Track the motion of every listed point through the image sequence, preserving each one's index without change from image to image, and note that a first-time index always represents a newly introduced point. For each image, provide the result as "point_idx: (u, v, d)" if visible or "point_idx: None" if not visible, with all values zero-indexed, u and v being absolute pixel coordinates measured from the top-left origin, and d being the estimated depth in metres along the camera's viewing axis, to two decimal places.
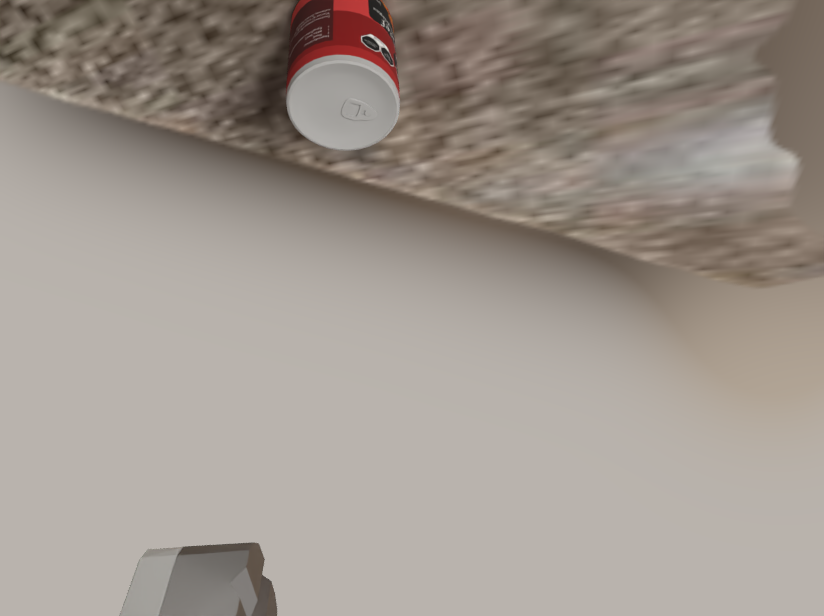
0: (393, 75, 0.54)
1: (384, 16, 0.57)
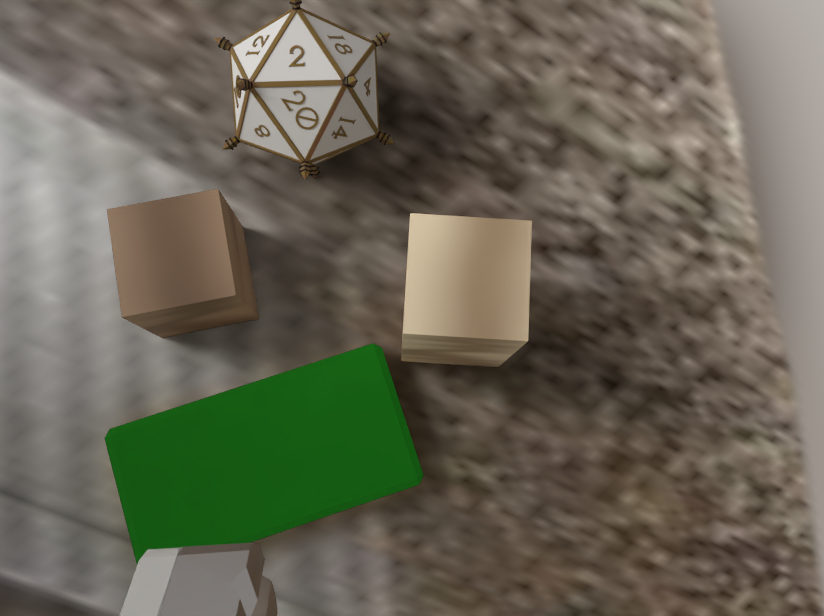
0: None
1: None
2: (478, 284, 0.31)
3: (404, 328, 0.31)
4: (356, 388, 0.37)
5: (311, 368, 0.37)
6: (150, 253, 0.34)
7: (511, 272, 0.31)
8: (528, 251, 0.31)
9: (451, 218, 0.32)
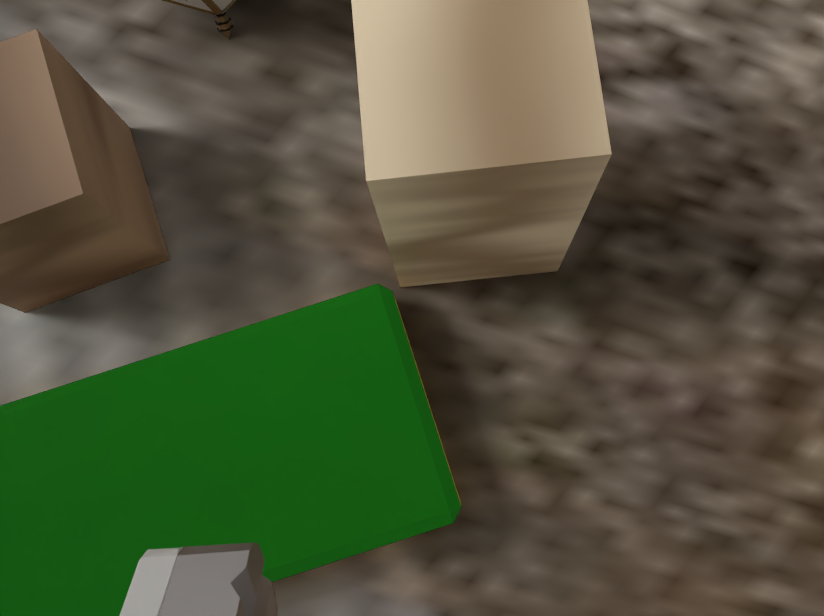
0: None
1: None
2: (497, 69, 0.16)
3: (367, 171, 0.16)
4: (349, 358, 0.22)
5: (275, 324, 0.23)
6: None
7: (556, 35, 0.16)
8: None
9: None
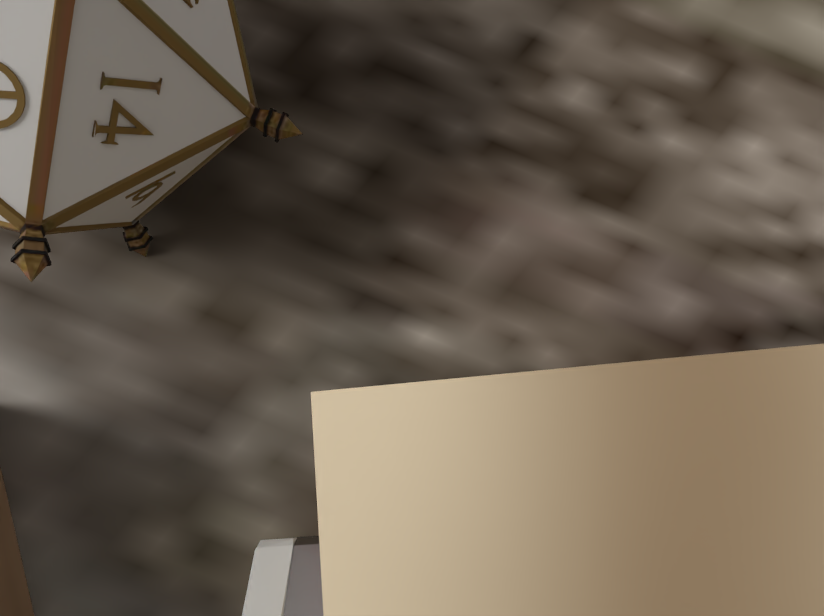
0: None
1: None
2: None
3: None
4: None
5: None
6: None
7: None
8: None
9: (498, 387, 0.07)
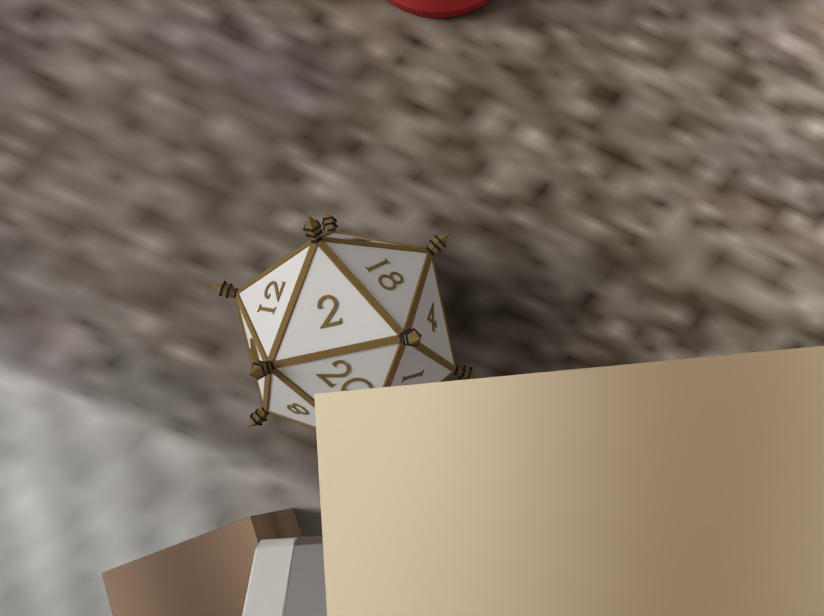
0: None
1: None
2: None
3: None
4: None
5: None
6: None
7: None
8: None
9: (502, 390, 0.07)
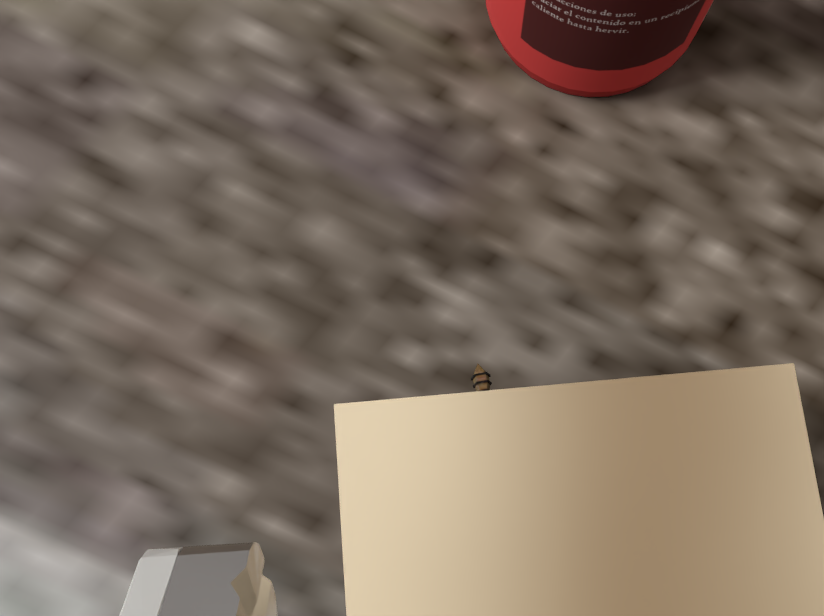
0: None
1: None
2: None
3: None
4: None
5: None
6: None
7: (760, 585, 0.08)
8: (808, 488, 0.08)
9: (488, 401, 0.08)
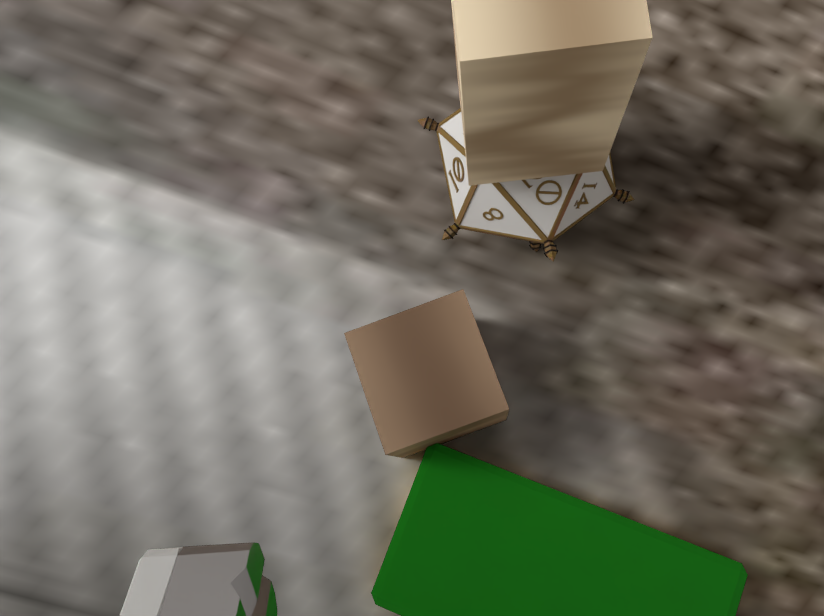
0: None
1: None
2: None
3: (460, 53, 0.20)
4: (693, 595, 0.31)
5: (662, 538, 0.31)
6: (402, 375, 0.30)
7: None
8: None
9: None
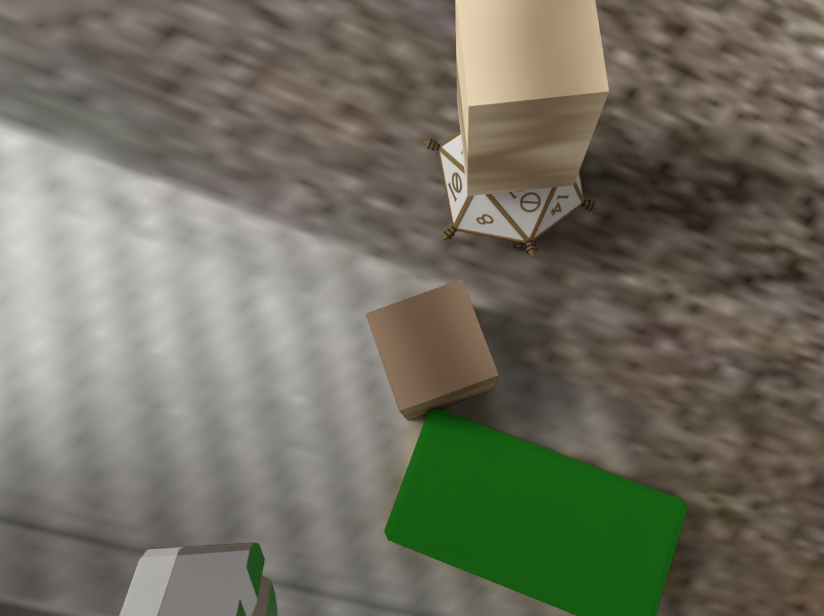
0: None
1: None
2: (543, 43, 0.28)
3: (469, 100, 0.28)
4: (644, 525, 0.38)
5: (619, 481, 0.39)
6: (413, 347, 0.37)
7: (577, 23, 0.28)
8: None
9: None
